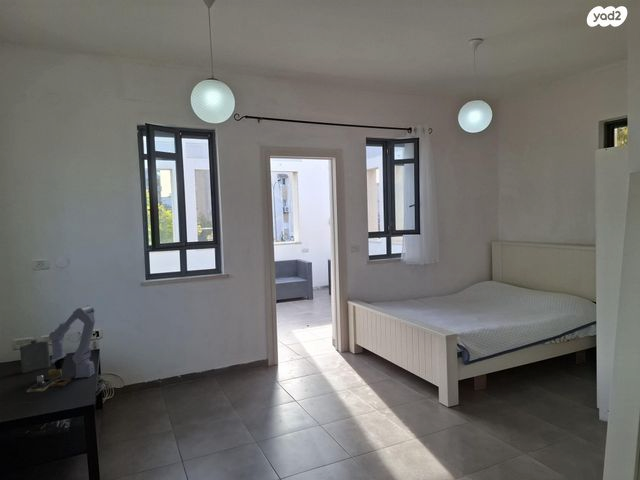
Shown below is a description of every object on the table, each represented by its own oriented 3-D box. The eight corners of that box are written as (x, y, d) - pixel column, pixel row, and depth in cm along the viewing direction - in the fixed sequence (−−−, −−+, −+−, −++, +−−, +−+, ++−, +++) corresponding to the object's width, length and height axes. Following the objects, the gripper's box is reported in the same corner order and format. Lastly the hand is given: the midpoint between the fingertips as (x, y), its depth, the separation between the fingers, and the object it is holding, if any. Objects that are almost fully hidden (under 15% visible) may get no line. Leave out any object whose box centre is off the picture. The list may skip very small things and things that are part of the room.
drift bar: (49, 375, 264) (48, 369, 264) (62, 374, 265) (62, 368, 265) (29, 388, 245) (29, 381, 244) (44, 387, 245) (43, 380, 245)
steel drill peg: (46, 386, 251) (45, 374, 250) (42, 388, 247) (41, 376, 247) (39, 386, 250) (38, 375, 250) (36, 388, 247) (35, 377, 247)
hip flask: (22, 373, 277) (19, 343, 276) (21, 371, 280) (18, 342, 279) (50, 366, 288) (48, 337, 287) (49, 365, 291) (47, 336, 290)
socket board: (54, 383, 255) (54, 381, 255) (43, 392, 243) (43, 389, 243) (39, 385, 255) (39, 382, 254) (26, 393, 243) (26, 390, 242)
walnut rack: (71, 381, 258) (70, 378, 258) (64, 386, 250) (63, 383, 250) (57, 382, 257) (57, 379, 257) (50, 387, 249) (49, 384, 249)
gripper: (57, 346, 275) (59, 367, 276) (44, 353, 261) (46, 375, 261) (68, 345, 276) (70, 366, 276) (56, 353, 261) (58, 374, 262)
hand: (59, 370), depth 269 cm, fingers closed
